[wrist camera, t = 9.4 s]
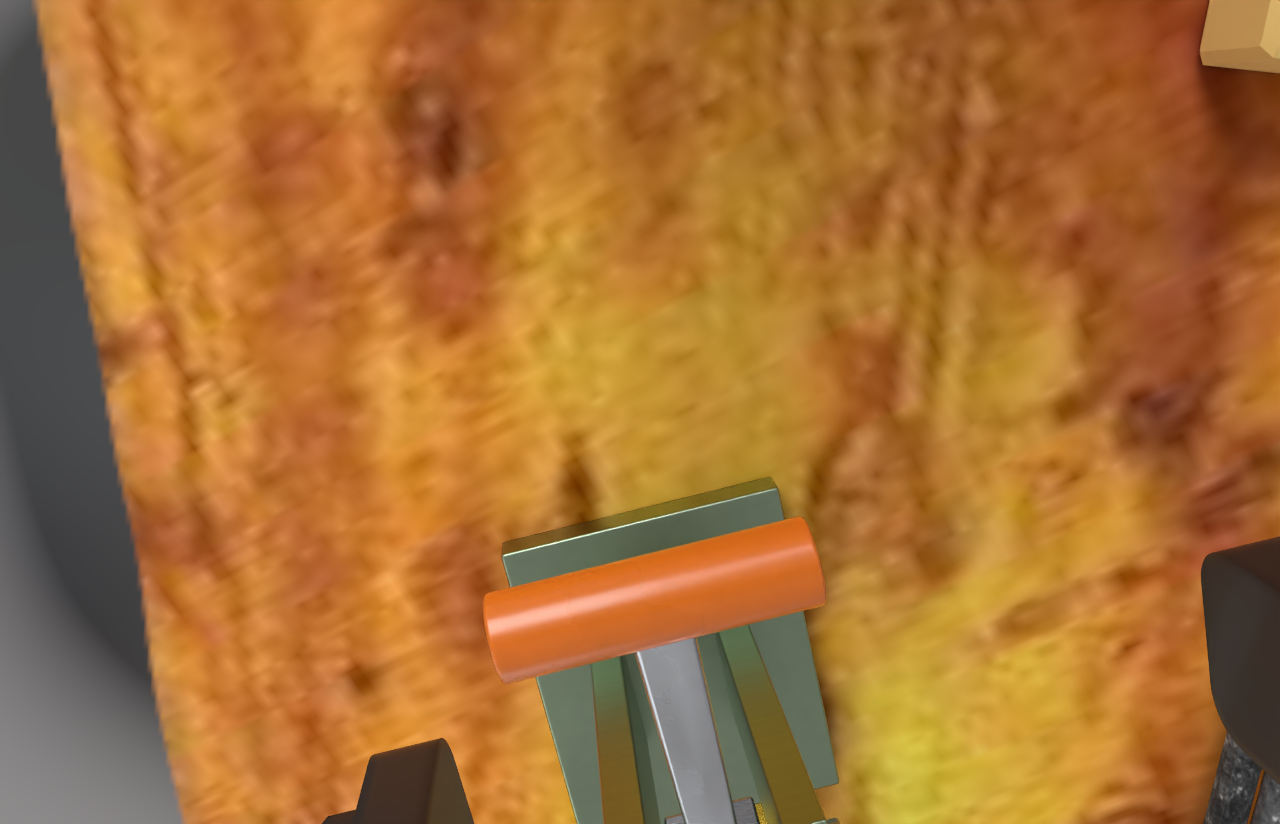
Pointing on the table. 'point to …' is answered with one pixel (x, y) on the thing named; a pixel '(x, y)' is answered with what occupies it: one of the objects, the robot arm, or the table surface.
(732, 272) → the table surface
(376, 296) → the table surface
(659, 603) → the lever
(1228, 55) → the rubber stamp
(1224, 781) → the valve
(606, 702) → the bracket
